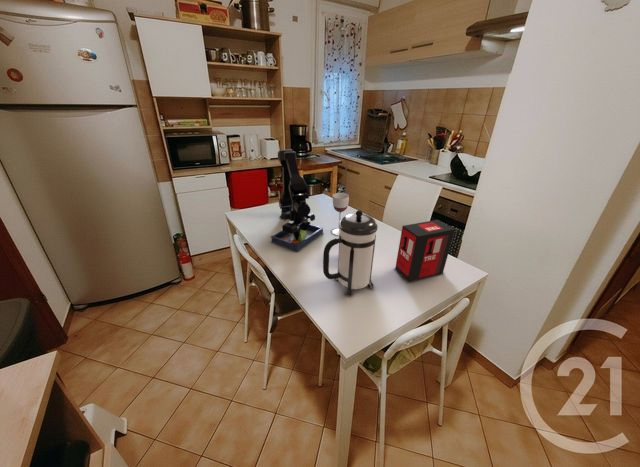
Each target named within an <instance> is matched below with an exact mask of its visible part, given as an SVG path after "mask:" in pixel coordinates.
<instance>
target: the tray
mask: <svg viewBox="0 0 640 467" xmlns="http://www.w3.org/2000/svg"><path fill="white" fill-rule="evenodd" d="M299 228H300V225H299ZM323 234H324V227H321V226H318V225H314V224H312V223H310V224H309V226H308V228H307V230H306V239H304V240H303V241H301V242H299V243H298V244H294V243H291V242H288V241H285V240H283V239H284V238H290V240H291V241H292V240H293V233H288V232H285V231H282V230H280V231H278V232H276V233H275V234H272V235H271V243H273V244H275V245H278V246H280V247H282V248H283V247H284V248H286V249H288V250H291V251H294V252H296V253H297V252H299V251H301V250H302V249H303V248H305V247H306V246H307V245H309V244H311V243H312V242H314V241H315V240H316V239H317V238H319V237H320V236H321V235H323Z"/></svg>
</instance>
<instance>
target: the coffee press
mask: <svg viewBox="0 0 640 467" xmlns="http://www.w3.org/2000/svg"><path fill="white" fill-rule="evenodd" d="M339 228H340V233H339V235H338V238H333V239H331V240H330V241H328V242H327V243H326V244H325V246H324V249H323V255H322V272H323V275H324V277H325V278H326V279H328V280H335V281H338V282H339V283H340V284H341V285H342V286H343V287H345V288H346V293H345V294H346V295H347V296H351V294H352V290H361V289H363V288H366V287H367V288H369V289H370V290H372V289H373V288H374V283H373V282H372V274H373V264H374V257H375V247H376V239H377V235H376V233H377V231H378V228H379V226H378V223H377V222H376V220H375V219H374V218H373V217H372V216H370V215H369V214H365V213H363V211H362V210H360V209H358V210H356V212H355V213H350V214H347V215H345V216H344V217H342V218H341V221H340V223H339V222H338V229H339ZM336 245H338V257H337V258H338V260H337V272H336V273H330V270H329V269H330V252H331V249H332V247H334V246H336Z"/></svg>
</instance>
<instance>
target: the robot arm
mask: <svg viewBox="0 0 640 467" xmlns="http://www.w3.org/2000/svg"><path fill="white" fill-rule="evenodd" d="M277 159H278V161H279V163H280V165H281V167H282V170H281V171H282V191H281V192H280V194H279V196H280V197H279V199H278V207H279V209H280V212H281V213H280V215H279V218H281V220H282V221H289V222H286V223H284V224H283V225H282V226H281V231H285V232H288V233H293V234H294V236H295V238H296V240H298V239H299V235H300V231H301V230H304V231H306V230H307V228H308V226H309V224H312V223H311V222H313V221H315V220H316V215H315V214H314V213H311V207H310V206H309V204H308V202H307V200H308V199H310V191H309V187H308V186H309V185H307V182H306V181H305V179H304V177H303V176H301V174H300V171H299V167H298V163H297V151H294V150H293V149H292V148H289V149H279V150H278V152H277ZM299 225H300V228H299Z"/></svg>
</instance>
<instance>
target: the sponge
mask: <svg viewBox="0 0 640 467" xmlns="http://www.w3.org/2000/svg"><path fill="white" fill-rule="evenodd" d="M304 239H306V231H304V230H301V231H300V235H299V239H298V240H299V242H301V241H303V240H304ZM293 240H296V238H295V236H294V234H293Z"/></svg>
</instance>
